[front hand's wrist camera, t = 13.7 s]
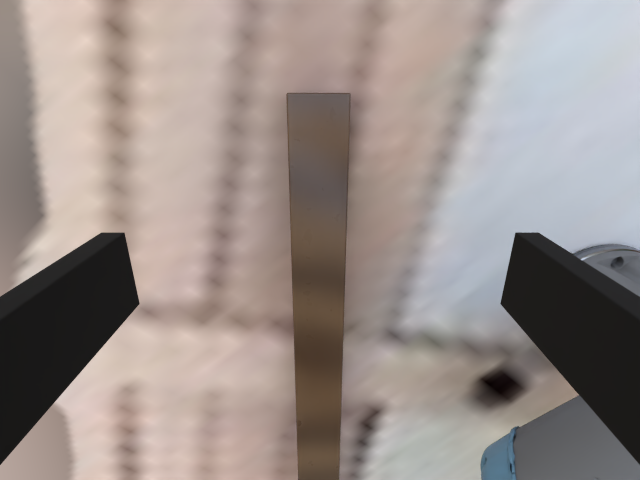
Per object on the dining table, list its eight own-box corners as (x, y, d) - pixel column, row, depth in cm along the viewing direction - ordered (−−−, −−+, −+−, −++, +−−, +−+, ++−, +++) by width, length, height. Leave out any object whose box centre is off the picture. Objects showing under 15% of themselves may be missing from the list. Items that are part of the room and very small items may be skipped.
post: (292, 93, 35) (286, 93, 28) (344, 93, 35) (350, 93, 28) (304, 546, 61) (301, 602, 55) (333, 546, 61) (335, 602, 55)
